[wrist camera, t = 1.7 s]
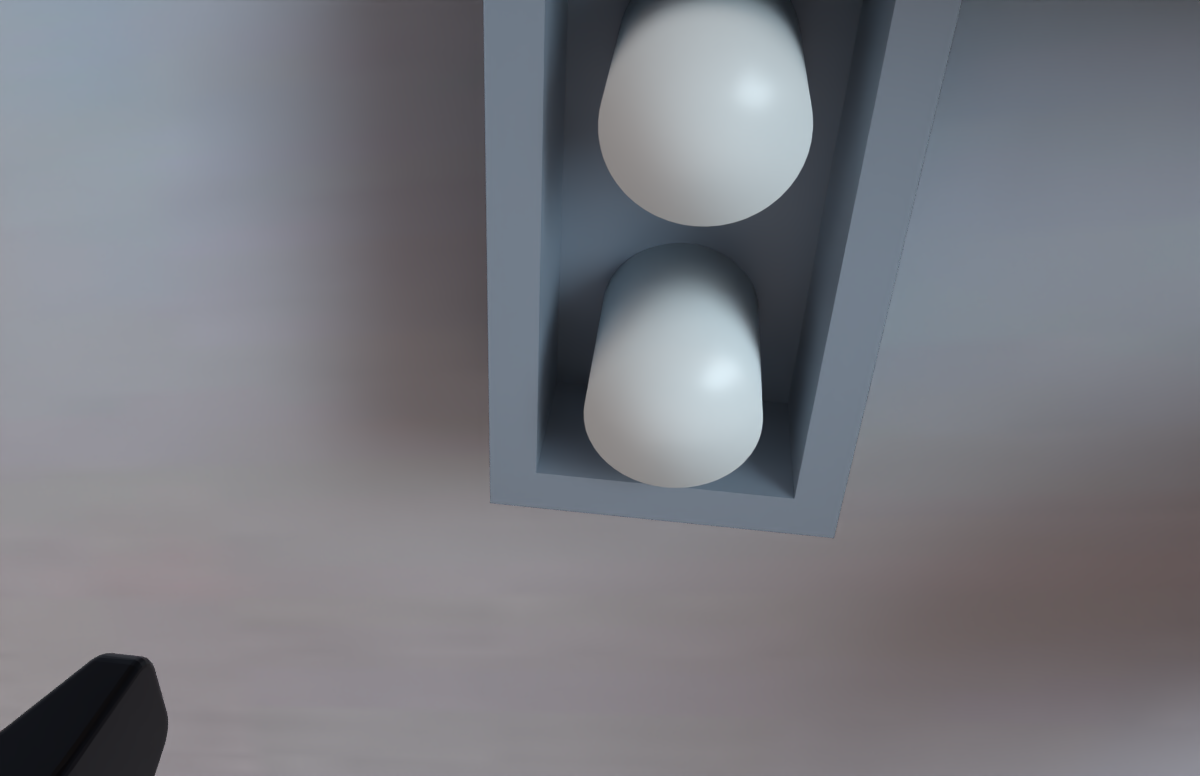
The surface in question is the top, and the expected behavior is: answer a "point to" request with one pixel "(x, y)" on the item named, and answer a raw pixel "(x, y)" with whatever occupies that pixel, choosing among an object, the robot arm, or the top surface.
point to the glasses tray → (696, 246)
